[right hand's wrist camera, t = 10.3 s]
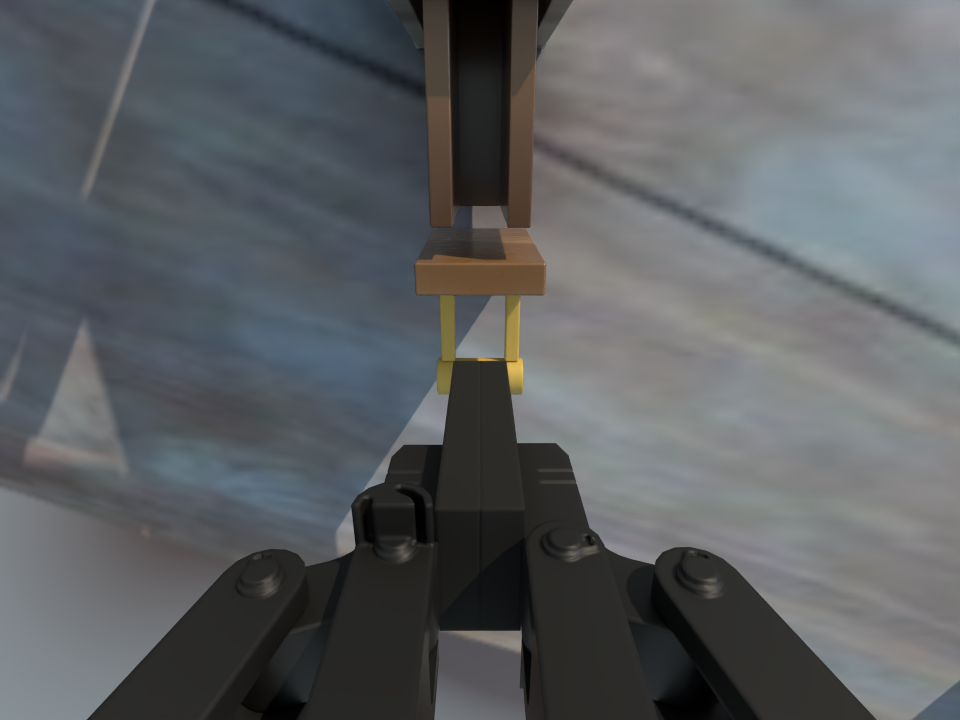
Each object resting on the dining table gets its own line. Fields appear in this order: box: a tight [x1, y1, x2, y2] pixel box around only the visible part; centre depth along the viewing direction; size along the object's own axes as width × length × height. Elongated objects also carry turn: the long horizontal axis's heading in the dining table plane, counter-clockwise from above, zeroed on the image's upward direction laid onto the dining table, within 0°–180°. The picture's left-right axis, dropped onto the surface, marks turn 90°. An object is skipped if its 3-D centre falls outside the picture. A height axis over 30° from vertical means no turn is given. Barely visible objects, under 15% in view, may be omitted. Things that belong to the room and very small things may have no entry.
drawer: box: [414, 0, 546, 394], centre depth 20 cm, size 25×5×9 cm, turn 0°
